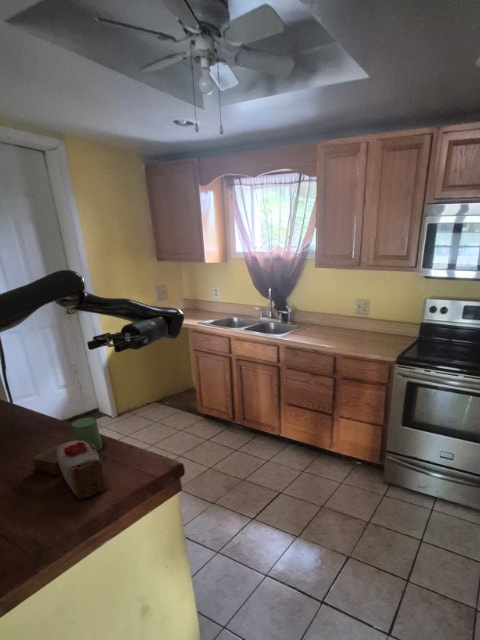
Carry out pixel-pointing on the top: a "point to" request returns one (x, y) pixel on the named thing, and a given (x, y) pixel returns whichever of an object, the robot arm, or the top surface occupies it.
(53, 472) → the walnut block
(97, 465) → the food item
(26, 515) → the top surface
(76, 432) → the green tin
